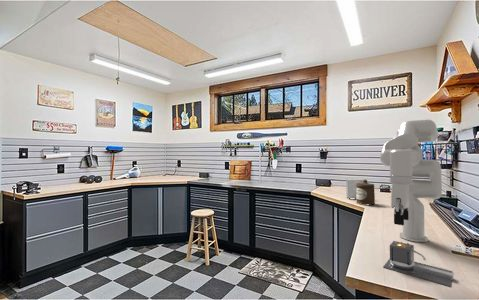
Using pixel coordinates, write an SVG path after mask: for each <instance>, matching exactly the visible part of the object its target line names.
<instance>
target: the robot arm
mask: <svg viewBox="0 0 479 300" xmlns="http://www.w3.org/2000/svg"><path fill="white" fill-rule="evenodd" d="M438 133H439V131H438V128H437V125H436V122H435V121H433V120H431V119H417V120H416V119H415V120H407V121H405V122H402V123H401V124H400V125H399V128H398V129H397V131H396V136H395V137H393V138H391V139H389V140H387V142H385V143H384V145H383V146H382V149H381V152H380V163H381V164H382V165H383V166H385V167H389V179H390V180H389V181H390V182H389V183H390V184H391V193H390V194H391V196H390V207H391V209H394V212H393V223H394V225H398V226H402V232H400V233H398V234H399V237H400V238H401V239H403V240H406V241H410V242H416V243H426V242H428V241H429V237H427V236H426V235H425V233H426V232H425V206H424V204H423V202H422V201H421V200H420V199H429V200H438V199H440V198H441V197H442V194H443V191H442V189H443V188H442V185H443V184H442V181H443V180H442V166H441V163H440V162H439V161H438V160H437V159H424V158H423V156H424V155H423V154H424V152H423V151H424V150H423V149H422V147H420V146H419V145H418V144H419V143H434V142H436V140H437V139H438ZM413 178H427V180H426V179H413ZM429 179H430V180H429Z"/></svg>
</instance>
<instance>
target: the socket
mask: <svg viewBox="0 0 479 300" xmlns="http://www.w3.org/2000/svg"><path fill="white" fill-rule="evenodd" d="M401 242H402V241H395V240H393V241H392V242H391V243H390V245H389V259H390V260H392V259H393V261H397V262H400V263H404V264H408V253H409V265H411V264H412V262H413V261H414V260H415V252H414V251H415V245H414V244H410V243H409V244H407V242H406V243H405V242H402V243H401Z"/></svg>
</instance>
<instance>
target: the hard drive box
mask: <svg viewBox="0 0 479 300" xmlns="http://www.w3.org/2000/svg"><path fill="white" fill-rule="evenodd" d="M363 180H364V179H362V178H346V179H345V182H346V183H345V185H346V187H345V188H346V198H347V197H348V198H356V193H357V187H356V184H357V183H363ZM348 198H347V199H348Z"/></svg>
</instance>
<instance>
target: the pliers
mask: <svg viewBox="0 0 479 300" xmlns="http://www.w3.org/2000/svg"><path fill="white" fill-rule="evenodd" d="M400 242H401V243H403V241H400ZM406 244H410V243H409V242H406ZM414 254H417V255H419V256H421V258H422V259H423V261H426V257H425V256H424V255H423V254H422V253H420V252H418V251H416V250H414Z"/></svg>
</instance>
